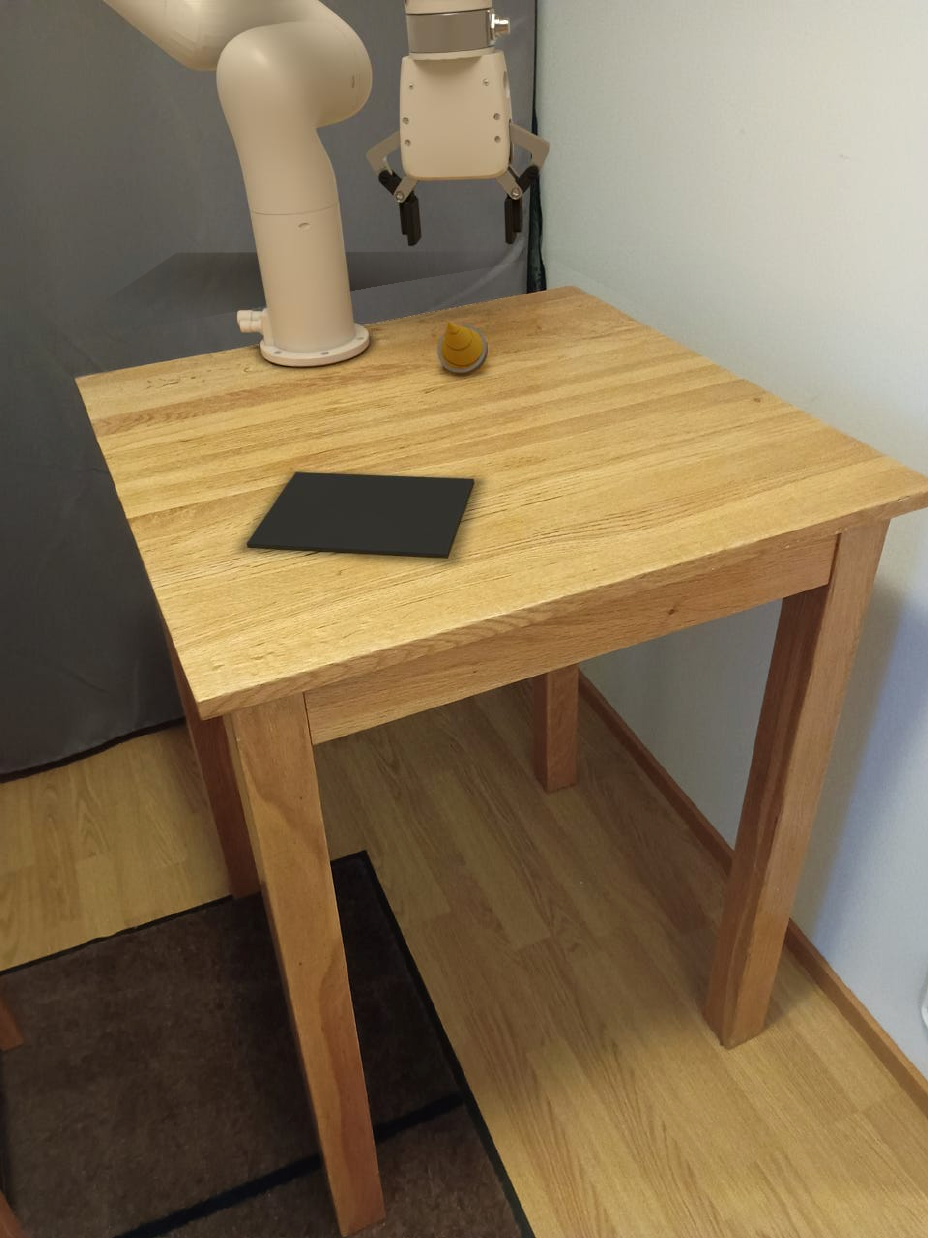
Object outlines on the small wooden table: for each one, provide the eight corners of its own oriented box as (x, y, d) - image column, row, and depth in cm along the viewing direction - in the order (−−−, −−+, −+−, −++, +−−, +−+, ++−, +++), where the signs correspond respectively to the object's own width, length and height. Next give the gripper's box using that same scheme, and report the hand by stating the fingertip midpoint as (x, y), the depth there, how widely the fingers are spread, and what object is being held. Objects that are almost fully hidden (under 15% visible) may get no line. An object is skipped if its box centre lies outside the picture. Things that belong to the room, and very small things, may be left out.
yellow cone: (501, 369, 101) (484, 329, 91) (459, 394, 101) (437, 358, 92) (478, 329, 102) (459, 287, 92) (436, 355, 102) (413, 315, 93)
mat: (247, 547, 72) (246, 543, 72) (296, 475, 82) (295, 471, 82) (447, 558, 70) (447, 553, 69) (474, 482, 79) (474, 478, 79)
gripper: (553, 26, 82) (554, 229, 92) (365, 37, 85) (386, 233, 95) (544, 34, 76) (546, 250, 86) (343, 45, 79) (367, 253, 89)
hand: (462, 241), depth 91 cm, fingers open, 9 cm apart
